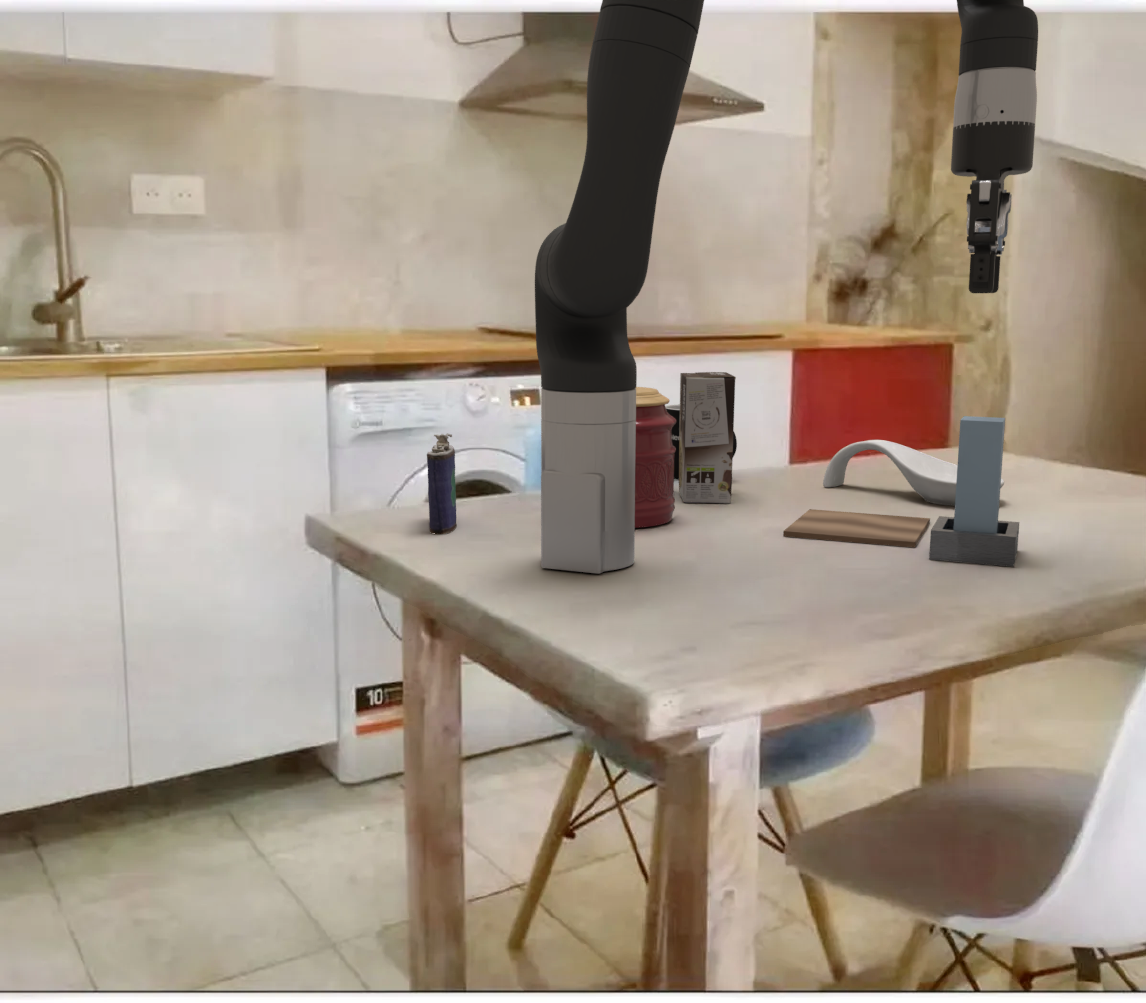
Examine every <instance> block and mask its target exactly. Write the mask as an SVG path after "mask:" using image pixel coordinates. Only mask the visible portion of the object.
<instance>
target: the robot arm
mask: <svg viewBox="0 0 1146 1003" xmlns="http://www.w3.org/2000/svg"><path fill="white" fill-rule="evenodd" d="M704 3H705V0H601V3H600V4H601V5H600V9H599V13H598V17H597V22H596V27H595V30H594V34H593V40H592V45H591V51H590V53H589V54H590V56H589V62H588V66H587V67H588V68H587V77H586V78H587V79H586V81H587V82H586V146H585V147H586V148H585V154H584V161H583V165H582V169H581V173H580V177H579V180H578V184H577V187H576V191H575V194H574V198H573V201H572V205H571V207H570V210H569V213H568V217H567V219H566V222H565V223H563V224H561V225H559V226H557V227H555V228H554V229H553V230H552V231H551V232H549V233H548V234H547V236H546V237H545V238H544V240H543V241H542V242H541V245H540V248H539V250H538V253H537V255H536V259H535V260H536V261H535V266H534V267H535V268H534V269H535V270H534V313H535V315H534V316H535V341H536V342H535V344H536V345H535V347H536V353H537V361H538V364H539V368H540V387H541V388H540V389H541V391H540V393H541V394H540V396H541V397H540V399H541V400H540V402H541V404H540V411H541V412H540V413H541V414H540V416H541V419H540V429H541V430H540V433H541V434H540V446H541V447H540V451H541V452H540V455H541V456H540V459H541V460H540V461H541V462H540V467H541V470H540V471H541V472H540V474H541V476H540V497H541V498H540V535H541V536H540V541H541V542H540V543H541V544H540V546H541V547H540V549H541V551H540V553H541V554H540V557H541V558H540V560H541V561H540V563H541V564H540V566H541V568H542V569H549V570H551V569H552V570H561V571H569V572H580V573H582V572H583V573H588V574H589V573H591V574H601V573H603V572H608V571H614V570H615V571H616V570H619V569H624V568H627V567H630V566H632V565H633V564H634V562H635V541H636V540H635V536H636V535H635V531H636V528H635V446H636V387H637V377H638V376H637V363H636V360H635V358H634V355H633V353H632V351H631V346H630V343H629V338H628V319H627V318H628V314H627V313H628V311H627V310H628V307H630V305H632V303H633V302H634V301H635V300H636V299H637V297H638V296H639V295H640V292H641V291H642V288H643V286H644V285H645V284H644V283H645V281H646V278H647V273H648V270H649V260H650V256H651V255H650V254H651V247H652V239H653V238H652V237H653V232H654V231H653V230H654V221H655V216H656V208H657V199H658V193H659V187H660V182H661V177H662V173H663V172H662V171H663V168H664V164H665V160H666V157H667V155H668V150H669V147H670V143H671V140H672V137H673V133H674V130H675V125H676V121H677V118H678V114H679V110H680V106H681V102H682V96H683V94H684V90H685V86H686V84H687V80H688V76H689V72H690V68H691V64H692V61H693V56H694V52H695V47H696V42H697V38H698V34H699V30H700V25H701V20H702V14H703V8H704ZM956 7H957V12H958V18H959V21H960V22H959V23H960V27H961V33H960V34H961V35H960V44H959V63H958V77H957V80H958V81H957V86H956V92H955V95H954V96H955V97H954V105H953V122H952V123H953V126H952V127H953V128H952V139H951V140H952V142H951V144H952V145H951V159H950V160H951V161H950V162H951V163H950V170H951V173H952V174H953V175H955V176H958V177H967V178H970V177H971V178H972V177H976V178H975V180H974V179H972V180H971V184H970V185H969V190H970V193H967V195H966V201H965V202H966V204H965V205H966V212H967V218H966V234H967V235H966V243H967V249H968V251H969V254H970V257H969V258H970V259H969V260H970V261H969V262H970V263H969V275H968V276H969V277H968V279H969V280H968V290H969V291H968V292H969V293H970V294H995V293H997V292H998V291H999V288H1000V287H999V286H1000V283H999V282H1000V271H1001V270H1000V269H1001V256H1003V252H1004V249H1005V245H1006V240H1005V239H1006V237H1007V236H1008V230H1009V215H1010V213H1011V209H1012V202H1013V201H1012V199H1013V197H1012V196H1013V195H1012V194H1011V192H1010V191H1009V192H1007V191H1008V190H1007V189H1005V179H1006V178H1007V177H1008V176H1017V175H1024V174H1026V173H1029V172H1030V171H1031V170H1033V169H1032V168H1033V165H1034V164H1033V162H1034V150H1035V149H1034V148H1035V137H1036V136H1035V135H1036V134H1035V132H1036V118H1037V106H1038V105H1037V102H1038V92H1037V90H1038V89H1037V88H1038V87H1037V72H1036V71H1037V61H1038V46H1039V45H1038V44H1039V23H1038V22H1039V20H1038V16H1037V14H1036V12H1035V11H1034V10H1033V9H1032V8H1030V7H1029V6H1025V2H1024V0H956Z"/></svg>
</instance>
